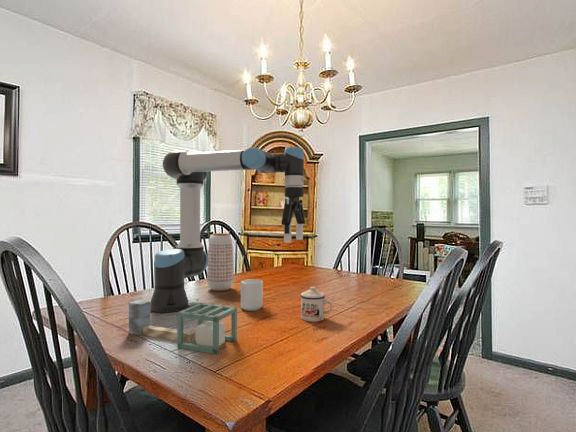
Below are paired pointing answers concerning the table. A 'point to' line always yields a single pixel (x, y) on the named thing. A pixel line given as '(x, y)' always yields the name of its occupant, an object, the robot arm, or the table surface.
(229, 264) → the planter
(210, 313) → the tube cage
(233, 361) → the table surface
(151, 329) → the mallet
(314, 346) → the table surface
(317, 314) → the teacup with lid
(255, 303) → the mug
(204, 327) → the block
